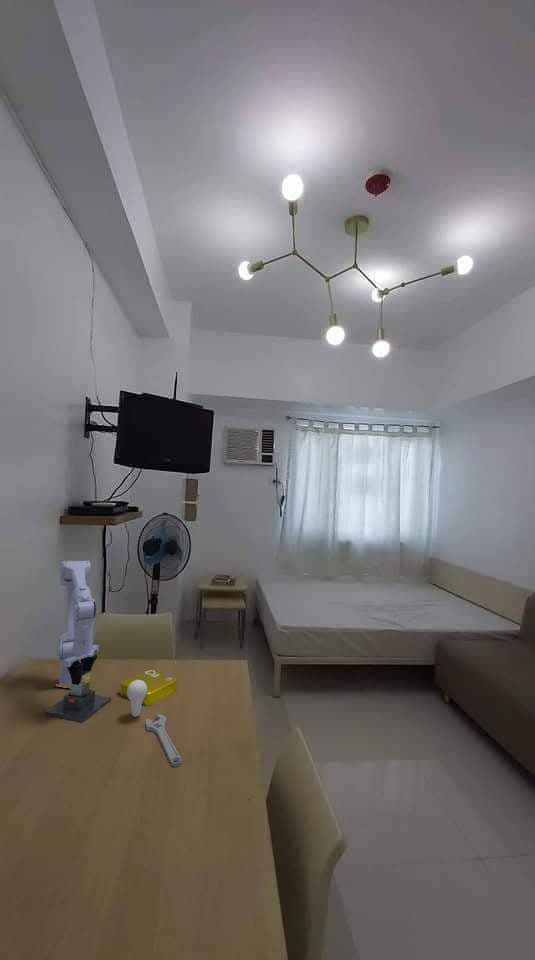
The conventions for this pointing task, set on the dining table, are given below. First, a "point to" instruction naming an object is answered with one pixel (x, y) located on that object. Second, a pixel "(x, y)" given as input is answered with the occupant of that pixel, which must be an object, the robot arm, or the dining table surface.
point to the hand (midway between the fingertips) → (80, 681)
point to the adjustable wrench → (164, 739)
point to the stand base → (78, 706)
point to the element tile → (152, 685)
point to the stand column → (81, 685)
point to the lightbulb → (136, 695)
